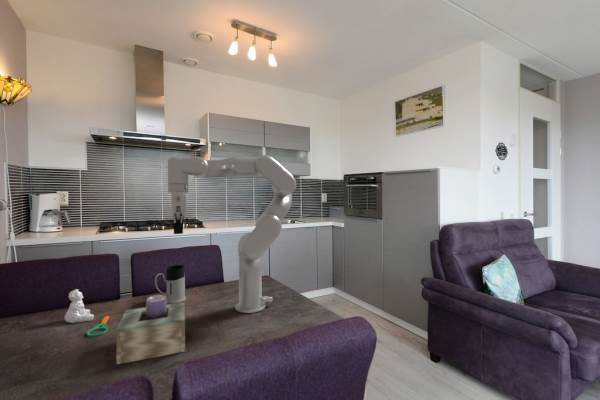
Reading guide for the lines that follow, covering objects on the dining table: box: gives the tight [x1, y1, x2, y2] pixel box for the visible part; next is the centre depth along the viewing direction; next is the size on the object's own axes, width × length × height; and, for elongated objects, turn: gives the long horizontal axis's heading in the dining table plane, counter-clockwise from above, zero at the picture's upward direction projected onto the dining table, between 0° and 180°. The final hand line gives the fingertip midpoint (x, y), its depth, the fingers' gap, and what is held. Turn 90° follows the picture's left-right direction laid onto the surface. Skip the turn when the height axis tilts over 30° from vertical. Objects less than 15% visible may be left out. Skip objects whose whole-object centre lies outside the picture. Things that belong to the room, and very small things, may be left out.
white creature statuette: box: [63, 288, 95, 324], centre depth 112 cm, size 10×9×12 cm
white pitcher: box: [154, 264, 187, 304], centre depth 131 cm, size 9×14×15 cm, turn 148°
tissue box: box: [115, 301, 186, 365], centre depth 92 cm, size 18×15×10 cm
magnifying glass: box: [86, 315, 110, 338], centre depth 105 cm, size 15×6×2 cm, turn 20°
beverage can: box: [145, 294, 168, 320], centre depth 93 cm, size 6×6×15 cm
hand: (178, 232), depth 114 cm, fingers open, 9 cm apart
